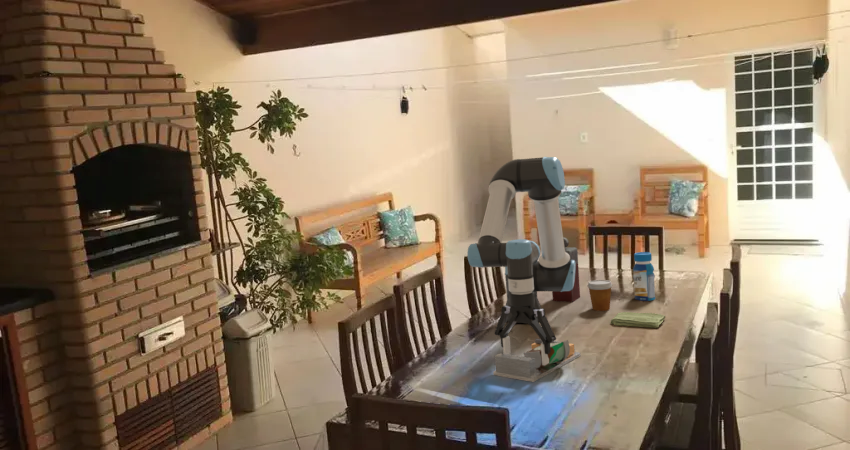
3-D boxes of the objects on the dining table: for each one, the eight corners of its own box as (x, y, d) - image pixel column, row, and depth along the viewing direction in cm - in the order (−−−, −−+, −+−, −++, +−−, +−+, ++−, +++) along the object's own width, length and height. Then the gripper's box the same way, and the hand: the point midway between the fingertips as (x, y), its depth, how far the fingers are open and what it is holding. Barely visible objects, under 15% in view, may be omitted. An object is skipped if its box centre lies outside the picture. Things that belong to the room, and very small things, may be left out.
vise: (493, 374, 209) (492, 355, 208) (542, 350, 230) (541, 332, 229) (533, 382, 199) (532, 361, 199) (580, 355, 220) (579, 337, 220)
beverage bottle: (658, 302, 281) (656, 253, 279) (637, 304, 282) (635, 255, 280) (652, 298, 290) (650, 250, 288) (631, 299, 290) (629, 252, 288)
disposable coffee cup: (600, 316, 267) (598, 285, 266) (583, 312, 276) (582, 282, 275) (619, 311, 272) (617, 281, 270) (602, 307, 280) (600, 278, 279)
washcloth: (660, 329, 244) (659, 320, 244) (609, 327, 252) (609, 318, 252) (666, 320, 255) (666, 311, 255) (617, 318, 264) (617, 310, 263)
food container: (549, 371, 202) (576, 359, 206) (542, 351, 203) (568, 339, 207) (528, 372, 213) (553, 361, 217) (521, 353, 214) (546, 342, 218)
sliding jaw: (531, 353, 223) (530, 339, 222) (541, 348, 227) (540, 334, 227) (565, 358, 215) (564, 344, 214) (574, 353, 219) (573, 339, 219)
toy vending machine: (582, 300, 296) (578, 235, 293) (573, 306, 286) (569, 239, 283) (562, 299, 301) (558, 235, 298) (552, 305, 291) (548, 239, 288)
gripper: (480, 291, 212) (485, 358, 215) (551, 297, 196) (556, 370, 198) (494, 286, 218) (499, 352, 220) (564, 292, 202) (569, 363, 204)
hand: (526, 361), depth 209 cm, fingers open, 13 cm apart
